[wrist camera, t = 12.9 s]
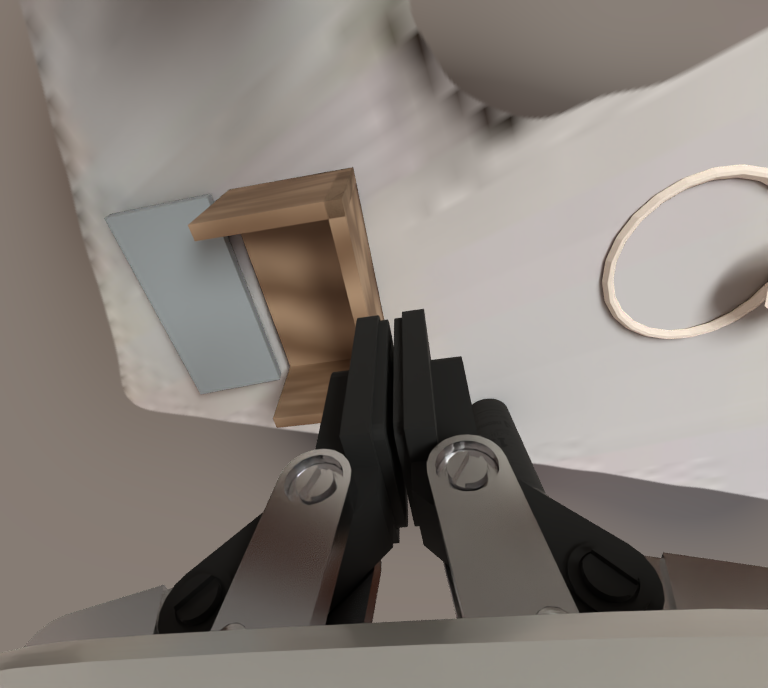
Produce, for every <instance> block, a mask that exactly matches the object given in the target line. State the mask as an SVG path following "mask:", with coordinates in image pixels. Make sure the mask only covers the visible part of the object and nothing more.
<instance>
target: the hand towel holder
mask: <svg viewBox="0 0 768 688" xmlns="http://www.w3.org/2000/svg"><path fill="white" fill-rule="evenodd" d="M736 177H738V178H744V179H751V180H757V181H761V182H762V183H764V184H766V185H768V168H763V167H757V166H751V165H745V164H741V165H732V166H724V167H715V168H711V169H709V170H706V171H703V172H700V173H697V174H694V175H692V176H689V177H686V178H683V179H682V180H680V181H678V182H677V183H675V184H673V185H672V186H670V187H668V188H667V189H665V190H663V191H662V192H660V193H658V194H657V195H655V196H654V197H653V198H652V199H651V200H650V201H648V202H647V203H646V204H645V205H644V206H643V207H642V208H640V209H639V210H638V211H637V212H636V213H635V214H634V215H633V216H632V217H631V219H630V220H629V221H628V222H627V224H626V225H625V226H624V228H623V229H622V230H621V232H620V233H619V234H618V236H617V237H616V239H615V241H614V243H613V246H612V248H611V250H610V252H609V254H608V256H607V259H606V262H605V267H604V273H603V279H602V286H603V293H604V300H605V303H606V304H607V306H608V308H609V310H610V312H611V314H612V316H613V317H614V318H615V319H616V320H617V321H619V322H620V323H621V324H622V325H623V326H624V327H625V328H627V329H629V330H631V331H634V332H636V333H638V334H641V335H643V336H649V337H656V338H663V339H675V338H688V337H693V336H697V335H701V334H704V333H708V332H712V331H715V330H717V329H719V328H721V327H724V326H726V325H728V324H730V323H732V322H734V321H737V320H738V319H740V318H741V317H743V316H744V315H746V314H747V313H749V312H750V311H752V310H753V309H755V308H756V307H758V306H759V305H760V304H761V303H762V302H764V301H765V300H766V302H765V307H766V308H767V309H768V282H767V283H766V284H765V285H764V286H763V287H761V288H760V289H759V290H758V291H757V292H756V293H755V294H754V295H753V296H752V297H751V298H750V299H749V300H747V301H746V302H744V303H743V304H741V305H740V306H738V307H737V308H736V309H734V310H733V311H731V312H730V313H728V314H726V315H723V316H721V317H719V318H717V319H715V320H713V321H711V322H708V323H705V324H702V325H698V326H695V327H691V328H687V329H678V330H662V329H655V328H649V327H647V326H645V325H642V324H640V323H638V322H635V321H634V320H633V319H631V318H630V317H629V316H628V315H627V314H626V313H625V312H624V311H623V310H622V308H621V307H620V305H619V303H618V301H617V299H616V297H615V290H614V282H613V278H614V273H615V268H616V262H617V259H618V257H619V255H620V253H621V251H622V249H623V247H624V244H625V242H626V240H627V239H628V238H629V236H630V235H631V234H632V233H633V231H634V230H635V229H636V228H637V226H638V225H639V224H640V222H641V221H642V220H643V219H644V218H646V217H647V216H648V215H649V214H650V213H651V212H652V211H654V210H655V209H656V208H657V207H658V206H659V205H661V204H662V203H663V202H665V201H667V200H668V199H670V198H672V197H674V196H675V195H677V194H679V193H680V192H682V191H684V190H686V189H688V188H691V187H694V186H697V185H700V184H702V183H705V182H708V181H711V180H718V179H727V178H736Z"/></svg>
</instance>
